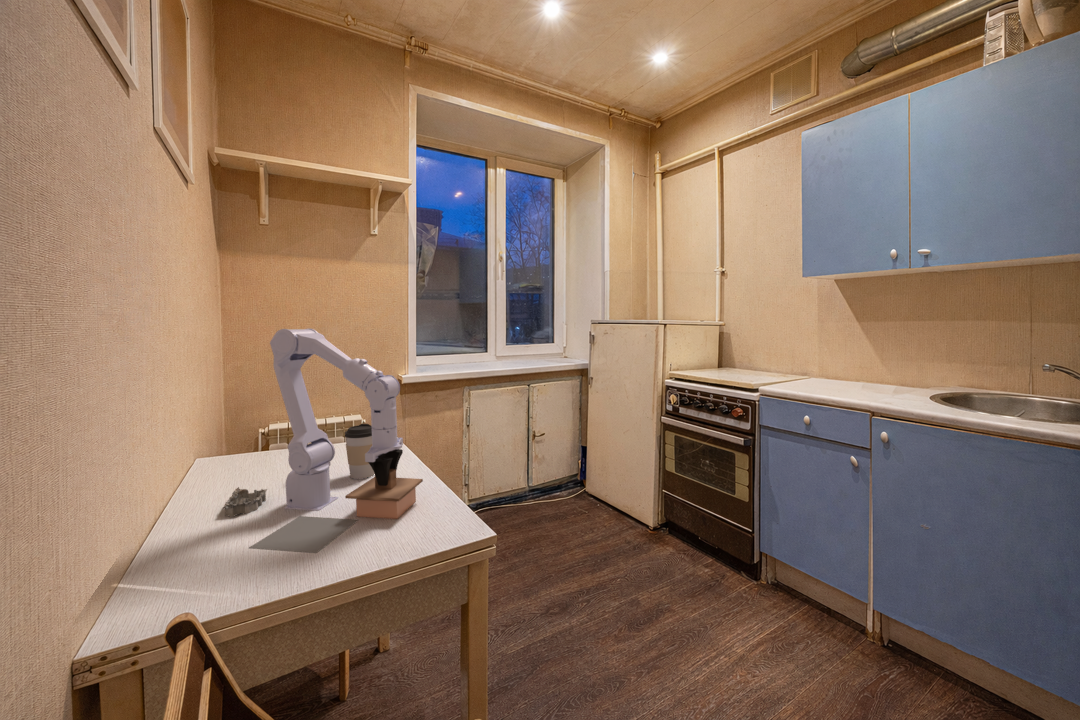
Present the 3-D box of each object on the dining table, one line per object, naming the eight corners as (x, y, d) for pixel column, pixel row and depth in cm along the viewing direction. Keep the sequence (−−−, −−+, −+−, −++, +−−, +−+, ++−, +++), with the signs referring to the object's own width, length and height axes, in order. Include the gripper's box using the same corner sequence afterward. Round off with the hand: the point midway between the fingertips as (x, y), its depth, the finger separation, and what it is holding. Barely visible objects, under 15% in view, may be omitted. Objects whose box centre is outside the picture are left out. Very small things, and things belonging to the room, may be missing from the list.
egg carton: (238, 501, 114) (237, 486, 114) (270, 498, 116) (270, 483, 116) (219, 518, 104) (218, 501, 104) (255, 515, 106) (254, 498, 106)
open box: (356, 518, 103) (356, 499, 103) (378, 501, 113) (378, 484, 112) (397, 520, 101) (396, 501, 101) (415, 503, 111) (415, 485, 111)
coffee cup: (371, 480, 128) (369, 429, 127) (340, 480, 128) (338, 429, 127) (383, 470, 137) (381, 422, 136) (354, 470, 137) (352, 422, 136)
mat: (248, 549, 89) (248, 547, 89) (299, 517, 104) (299, 516, 104) (316, 554, 86) (316, 552, 86) (359, 521, 101) (359, 519, 101)
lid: (345, 498, 101) (344, 478, 101) (374, 478, 114) (374, 461, 114) (398, 501, 99) (398, 481, 99) (422, 481, 112) (422, 463, 112)
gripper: (384, 434, 98) (387, 494, 99) (413, 420, 112) (415, 473, 113) (355, 434, 99) (357, 493, 100) (387, 420, 113) (389, 472, 114)
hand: (386, 482), depth 107 cm, fingers closed on lid, 3 cm apart
